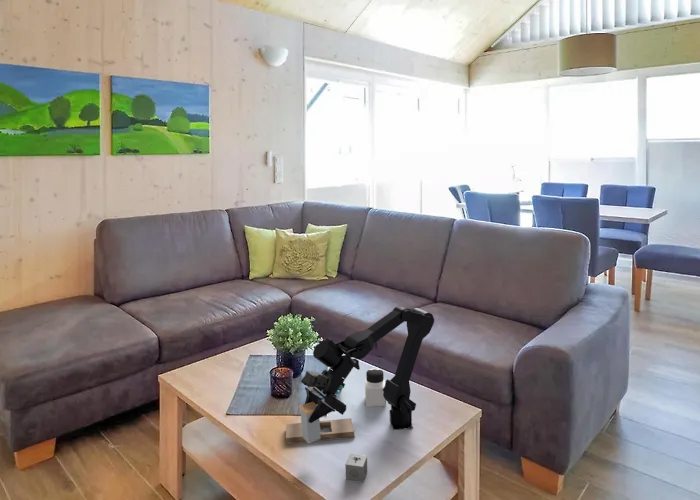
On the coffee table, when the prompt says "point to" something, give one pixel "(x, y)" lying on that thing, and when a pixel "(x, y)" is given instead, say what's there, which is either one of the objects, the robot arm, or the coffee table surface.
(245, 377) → the coffee table surface
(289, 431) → the wooden socket base
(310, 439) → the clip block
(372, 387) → the medicine bottle
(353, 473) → the grey marked cube
